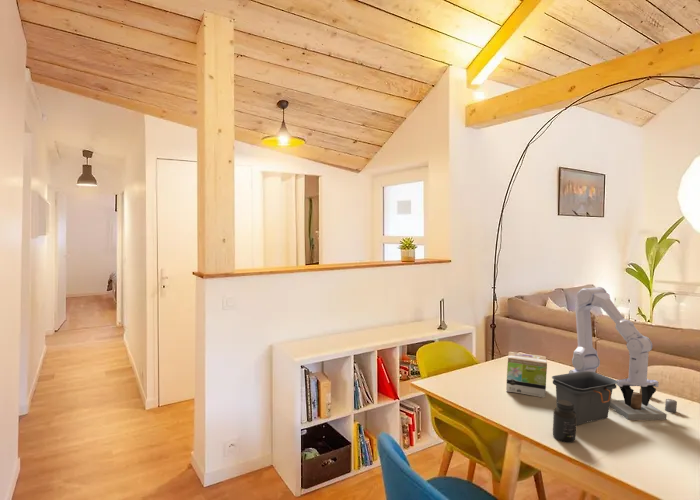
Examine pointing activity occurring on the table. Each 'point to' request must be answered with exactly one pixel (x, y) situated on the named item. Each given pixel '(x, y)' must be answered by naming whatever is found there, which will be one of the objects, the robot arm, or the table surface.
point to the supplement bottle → (564, 421)
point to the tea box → (526, 374)
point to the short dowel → (670, 405)
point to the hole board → (637, 411)
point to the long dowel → (636, 401)
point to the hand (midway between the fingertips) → (636, 404)
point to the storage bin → (586, 394)
